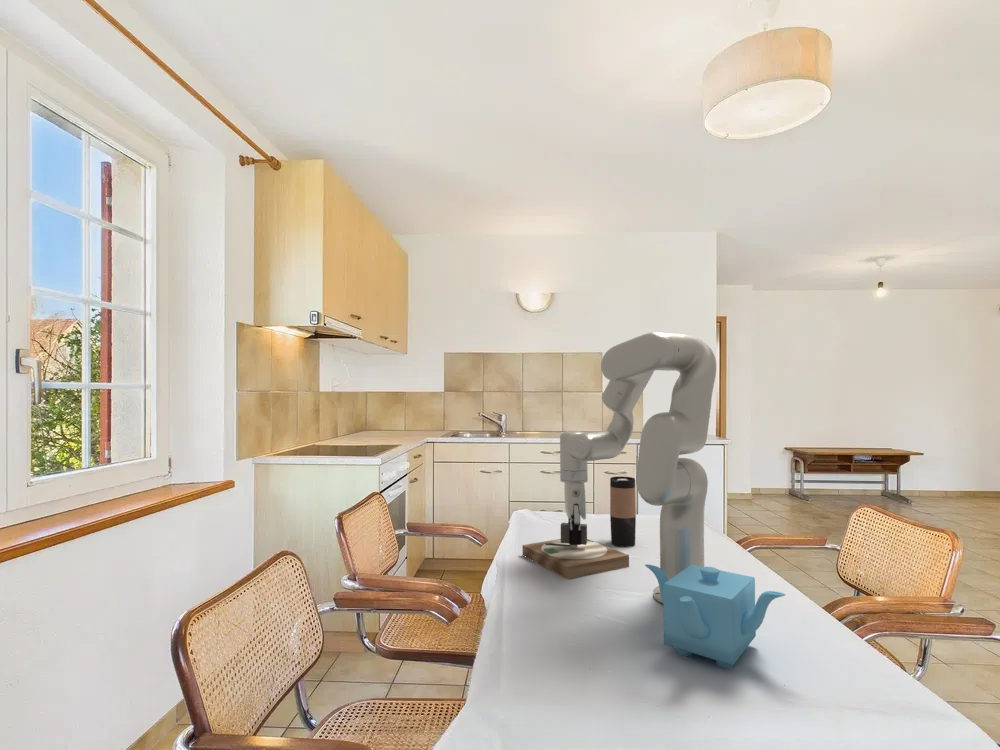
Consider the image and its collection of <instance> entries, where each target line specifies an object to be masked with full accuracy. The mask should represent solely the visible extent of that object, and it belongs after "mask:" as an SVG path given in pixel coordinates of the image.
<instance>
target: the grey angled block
mask: <svg viewBox="0 0 1000 750" xmlns="http://www.w3.org/2000/svg"><path fill="white" fill-rule="evenodd" d="M580 524H581V544H582V545H586V544H587V539H588V523H580ZM569 530H570V523H568V522H561V524H560V539H561V543H568V544H569ZM545 545H554V546H568V547H571V548H577V547H578V545H567V544H553V543H545Z"/></svg>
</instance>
